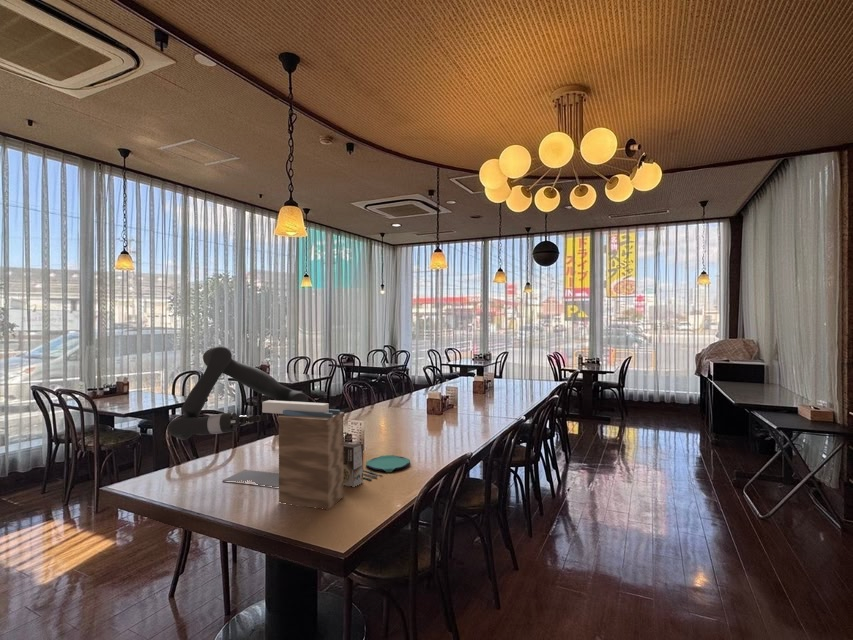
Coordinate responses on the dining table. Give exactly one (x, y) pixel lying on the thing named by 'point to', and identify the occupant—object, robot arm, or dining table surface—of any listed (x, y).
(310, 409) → the bar
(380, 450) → the dining table surface
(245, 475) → the mat
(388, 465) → the cutlery set
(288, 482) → the brown wooden box
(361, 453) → the grey food carton
